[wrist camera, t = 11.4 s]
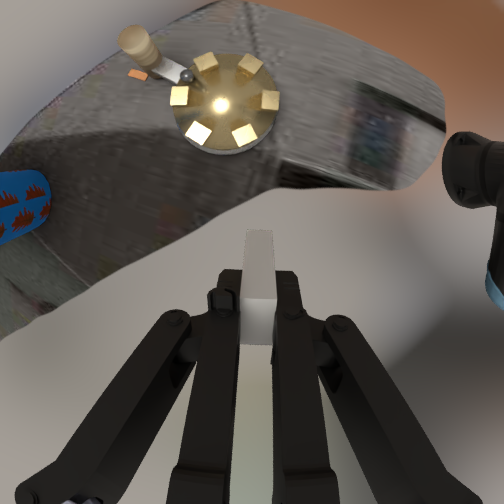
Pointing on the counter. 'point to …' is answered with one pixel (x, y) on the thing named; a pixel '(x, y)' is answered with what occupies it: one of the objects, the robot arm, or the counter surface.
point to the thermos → (22, 202)
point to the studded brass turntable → (211, 92)
